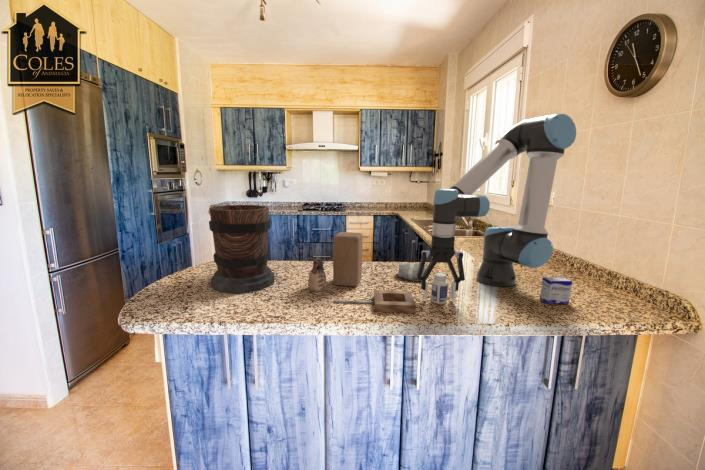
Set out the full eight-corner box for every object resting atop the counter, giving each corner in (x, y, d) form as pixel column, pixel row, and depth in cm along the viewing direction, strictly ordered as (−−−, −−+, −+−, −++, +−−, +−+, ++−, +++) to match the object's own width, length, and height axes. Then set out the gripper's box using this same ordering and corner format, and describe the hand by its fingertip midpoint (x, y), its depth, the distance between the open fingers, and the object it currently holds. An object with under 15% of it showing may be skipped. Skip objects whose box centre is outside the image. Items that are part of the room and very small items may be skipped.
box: (547, 304, 112) (550, 281, 111) (539, 299, 117) (542, 276, 115) (569, 304, 113) (572, 280, 111) (560, 299, 117) (563, 276, 116)
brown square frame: (410, 297, 117) (410, 291, 116) (415, 312, 104) (416, 305, 103) (335, 295, 118) (335, 288, 117) (331, 310, 105) (331, 302, 104)
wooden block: (357, 287, 126) (358, 237, 122) (332, 285, 128) (332, 235, 124) (361, 279, 136) (362, 232, 132) (338, 277, 138) (339, 231, 134)
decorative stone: (428, 276, 143) (429, 262, 142) (426, 283, 133) (427, 269, 132) (398, 273, 146) (399, 260, 145) (394, 280, 137) (395, 266, 136)
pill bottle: (447, 299, 115) (449, 273, 114) (446, 305, 110) (448, 277, 109) (431, 297, 117) (433, 271, 115) (430, 303, 112) (431, 275, 110)
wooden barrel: (204, 294, 116) (198, 211, 111) (221, 270, 145) (217, 203, 139) (272, 291, 121) (270, 210, 115) (276, 268, 149) (274, 203, 144)
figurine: (330, 287, 126) (330, 257, 124) (321, 293, 120) (320, 261, 118) (314, 284, 129) (314, 255, 127) (304, 289, 123) (304, 259, 121)
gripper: (472, 234, 113) (466, 295, 117) (409, 232, 114) (406, 294, 118) (479, 238, 105) (473, 304, 109) (412, 236, 106) (409, 302, 110)
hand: (438, 298), depth 114 cm, fingers open, 9 cm apart
